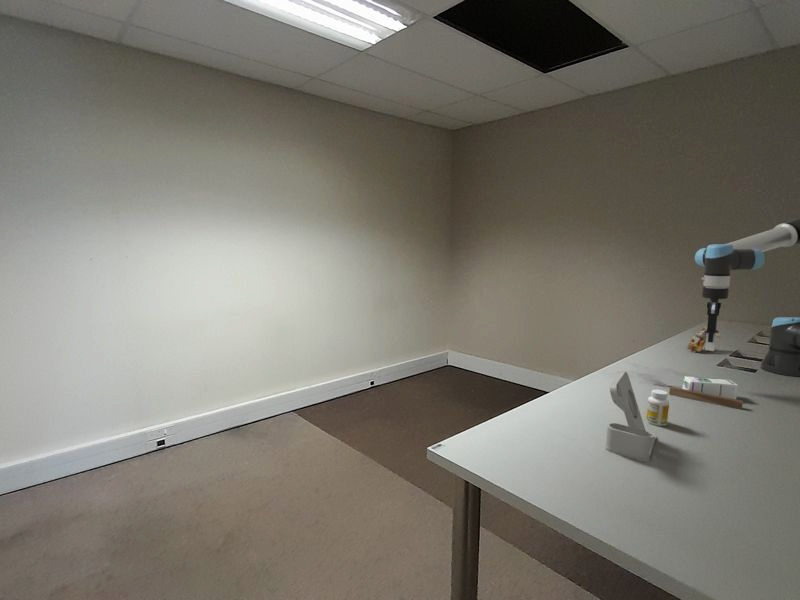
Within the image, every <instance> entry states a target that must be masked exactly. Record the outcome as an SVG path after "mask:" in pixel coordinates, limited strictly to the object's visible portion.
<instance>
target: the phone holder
mask: <svg viewBox="0 0 800 600" xmlns="http://www.w3.org/2000/svg"><path fill="white" fill-rule="evenodd" d="M609 393H610V396H611V399H612V402H613V403H614V404H615V405H616V406H617V408H619V409H620V410H621V411H622V412H623V413H624V416H625V419H626V422H627V423H626V424H627V425H624V424H620V423H616V422H612V423H608V424H607V431H606V442H605V443H606V444H605V446H604V448H605V450H606V451H608V452H610V453H614V454H617V455H620V456H624V457H626V458H631V459H634V460H637V461H641V462H649V460H650V458H651V454H652V451H653V448H654V446H655V442H656V439H657V436H656V434H655V433H651V432H648V431H647V430H646V428H645V425H644V421H643V418H642V415H641V411H640V408H639V405H638V402H637V398H636V396H635V393H634V388H633V385H632V382H631V379H630V377H629V374H628V372H627V371H621V372H618V374H617V375H616V376H615V377H614V378H613V380H612V381H611V383H610V385H609Z"/></svg>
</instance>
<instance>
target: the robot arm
mask: <svg viewBox="0 0 800 600" xmlns="http://www.w3.org/2000/svg"><path fill="white" fill-rule="evenodd" d="M798 245H799V246H800V217H798V218H794V219H792V220H789V221H785V222H782V223H780V224H777V225H775V227H773V228H772V229H769V230H766V231H763V232H759V233H756V234H752V235H749V236H747V237H744V238H741V239H737V240H735V241H734V240H733V241H730V242H728V243H725V244H724V243H723V244H722V243H721V244H718V243H717V244H716V243H714V244H708V245H707V247H703V248H700V249H698V251H696V253H695V255H694V262H695V263H696V264H697V266H700V267H704V273H703V277H701V280H702V281H703V283H702V285H703V286H704V287H702V290H701V291H702V293H701V296H702V297H703V298H705V299H710V301H707V303H706V308H707V309H706V310H707V312H706V314H707V316H708V317H707V324H706V325H707V326H706V327H707V331H706V330H704V332H705V333H707V334H706V336H705V337H706V343H705V344H704V346H705V347H704V350H705V351H710V352H713V351H714V348H715V349H716V346H715V345H716V337H717V336H716V333H718V331H719V330H718V328H717V323H718V316H719V315H720V309H721V308H722V307H721V306H722V302H719V300H726V299H728V298H729V289H730V288H728V287H730V283H731V274H732V273H731V272H732V271H751V270H752V271H753V270H757V269H760V268H761V267H762V266H763V265H764V264H765V259H766V257H765V252H767V251H770V250H774V249H777V248H781V247H783V248H789V247H792V246H793V247H794V246H798ZM770 328H771V329H770V336H769V343H768V350H767V352H766V354H765V355H764V357H763V359H762V360H761V363H760V369H762V370H765V371H767V372H770V373H774V374H777V375H783V376H789V377H790V376H791V377H800V317H794V316H793V317H792V316H791V317H788V316H784V317H783V316H781V317H780V316H779V317H774V319H773V320H772V325H771V326H770ZM716 329H717V330H718V331H716ZM714 352H715V351H714Z"/></svg>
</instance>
